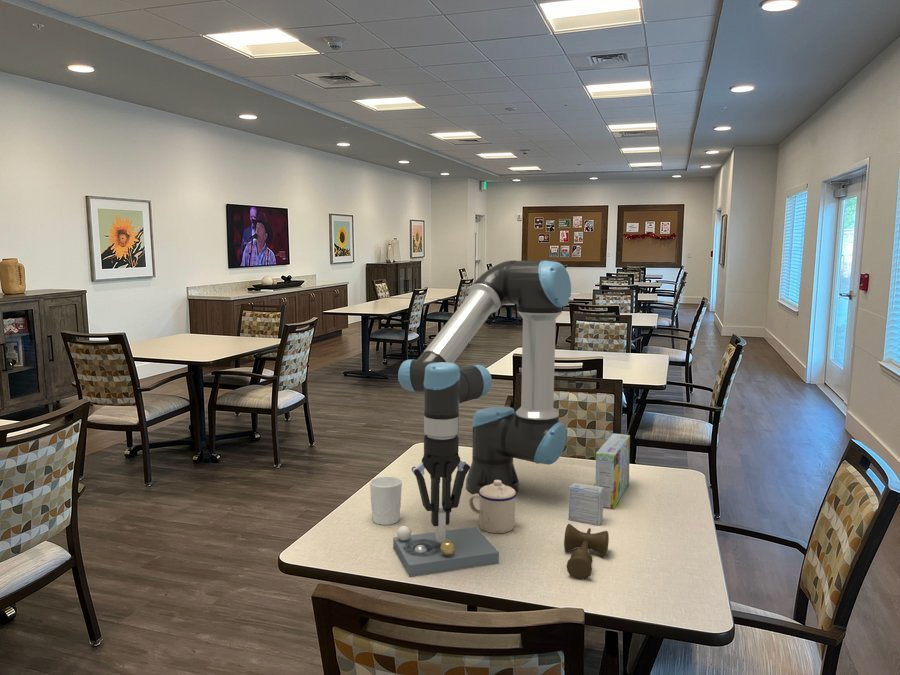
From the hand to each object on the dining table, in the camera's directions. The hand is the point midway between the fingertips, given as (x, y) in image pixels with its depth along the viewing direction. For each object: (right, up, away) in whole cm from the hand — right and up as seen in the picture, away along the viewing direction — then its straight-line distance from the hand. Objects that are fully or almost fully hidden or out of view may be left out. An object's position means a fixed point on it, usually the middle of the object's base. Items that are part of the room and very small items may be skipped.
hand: (440, 538), depth 144 cm
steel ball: (-4, -3, -1) cm, 5 cm away
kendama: (+32, -5, 0) cm, 32 cm away
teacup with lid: (+12, -2, +17) cm, 21 cm away
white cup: (-14, -2, +20) cm, 24 cm away
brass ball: (+2, -1, -5) cm, 5 cm away
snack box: (+47, 0, +38) cm, 61 cm away
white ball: (-8, 0, +3) cm, 9 cm away
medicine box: (+36, -2, +21) cm, 42 cm away
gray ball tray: (+1, -4, +1) cm, 4 cm away
